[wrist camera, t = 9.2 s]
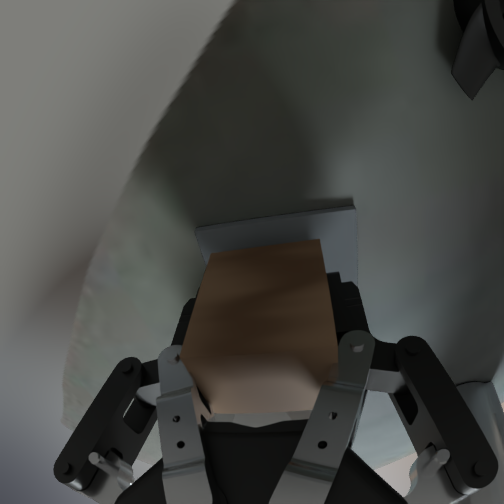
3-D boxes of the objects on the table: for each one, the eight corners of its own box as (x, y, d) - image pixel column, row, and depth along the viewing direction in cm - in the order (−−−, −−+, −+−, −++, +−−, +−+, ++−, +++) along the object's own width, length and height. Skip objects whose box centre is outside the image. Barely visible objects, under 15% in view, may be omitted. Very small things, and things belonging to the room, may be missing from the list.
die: (189, 337, 22) (204, 466, 19) (219, 317, 14) (243, 513, 11) (293, 330, 25) (307, 446, 22) (362, 307, 18) (381, 466, 14)
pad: (354, 205, 15) (355, 209, 14) (356, 284, 17) (357, 288, 17) (196, 227, 16) (194, 231, 16) (220, 299, 19) (219, 304, 18)
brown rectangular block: (319, 238, 14) (337, 345, 9) (325, 304, 16) (337, 406, 11) (210, 253, 15) (179, 357, 10) (231, 314, 17) (214, 413, 12)
